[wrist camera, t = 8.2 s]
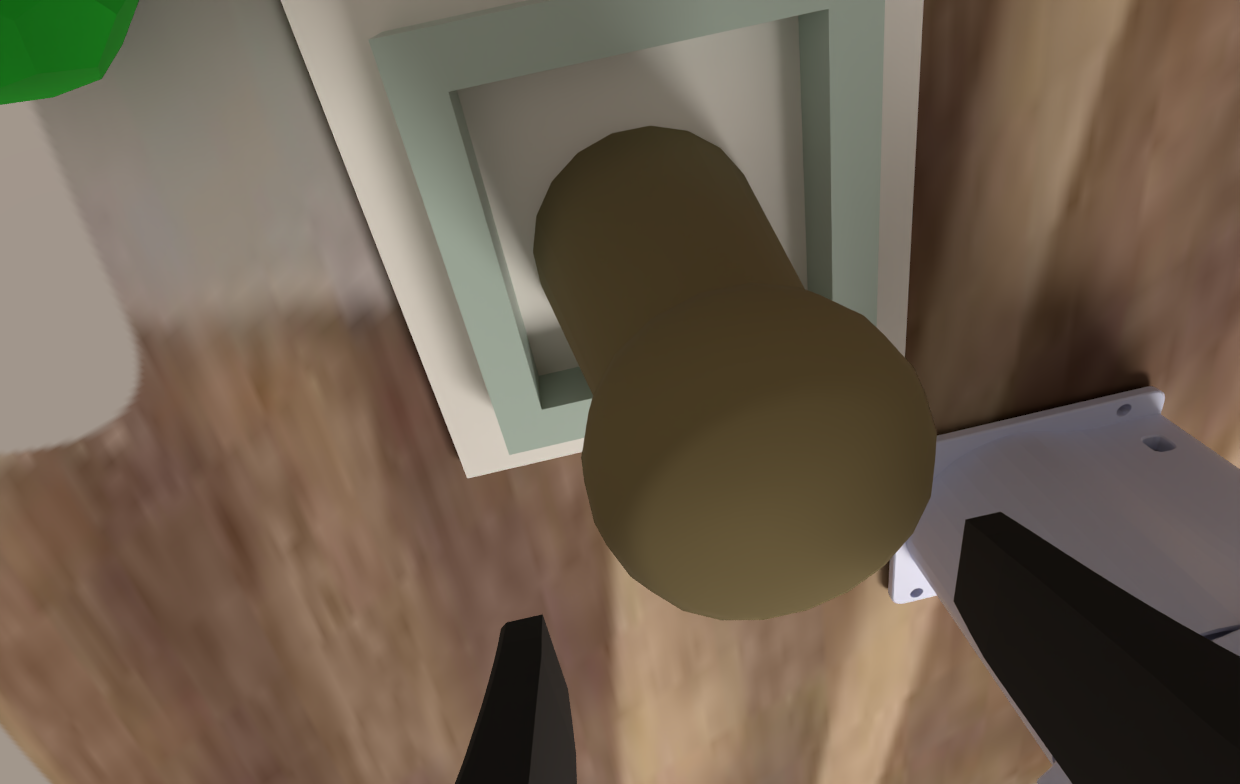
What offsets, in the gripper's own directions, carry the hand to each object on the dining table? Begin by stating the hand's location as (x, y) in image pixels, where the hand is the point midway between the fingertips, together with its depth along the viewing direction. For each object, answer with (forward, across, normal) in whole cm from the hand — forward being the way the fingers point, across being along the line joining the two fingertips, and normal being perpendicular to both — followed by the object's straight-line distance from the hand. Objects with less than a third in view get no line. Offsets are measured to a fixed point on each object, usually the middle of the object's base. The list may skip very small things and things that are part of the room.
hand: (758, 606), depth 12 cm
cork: (+10, 0, -3) cm, 10 cm away
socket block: (+10, 0, -4) cm, 11 cm away
